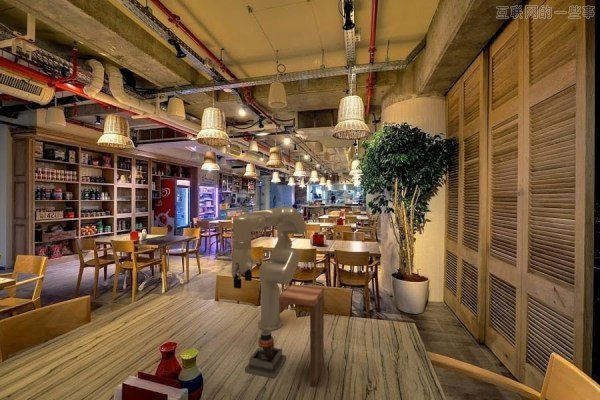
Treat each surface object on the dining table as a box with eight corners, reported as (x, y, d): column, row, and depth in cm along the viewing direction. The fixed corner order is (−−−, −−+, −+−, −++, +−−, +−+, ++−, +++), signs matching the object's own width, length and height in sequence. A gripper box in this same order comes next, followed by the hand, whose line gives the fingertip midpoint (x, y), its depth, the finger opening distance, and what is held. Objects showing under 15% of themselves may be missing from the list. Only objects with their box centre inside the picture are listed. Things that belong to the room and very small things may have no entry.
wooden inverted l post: (292, 357, 111) (292, 284, 110) (323, 363, 107) (323, 287, 106) (279, 379, 97) (279, 296, 97) (314, 387, 93) (314, 300, 93)
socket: (259, 354, 113) (259, 343, 113) (286, 359, 109) (286, 348, 109) (244, 371, 101) (244, 360, 101) (274, 378, 98) (274, 366, 98)
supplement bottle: (274, 356, 109) (274, 328, 108) (273, 365, 103) (273, 336, 102) (259, 356, 108) (259, 328, 108) (257, 366, 102) (257, 336, 102)
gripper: (243, 241, 126) (244, 277, 127) (223, 248, 110) (224, 290, 110) (258, 241, 124) (259, 278, 125) (240, 249, 108) (241, 292, 108)
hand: (243, 284), depth 118 cm, fingers open, 9 cm apart
